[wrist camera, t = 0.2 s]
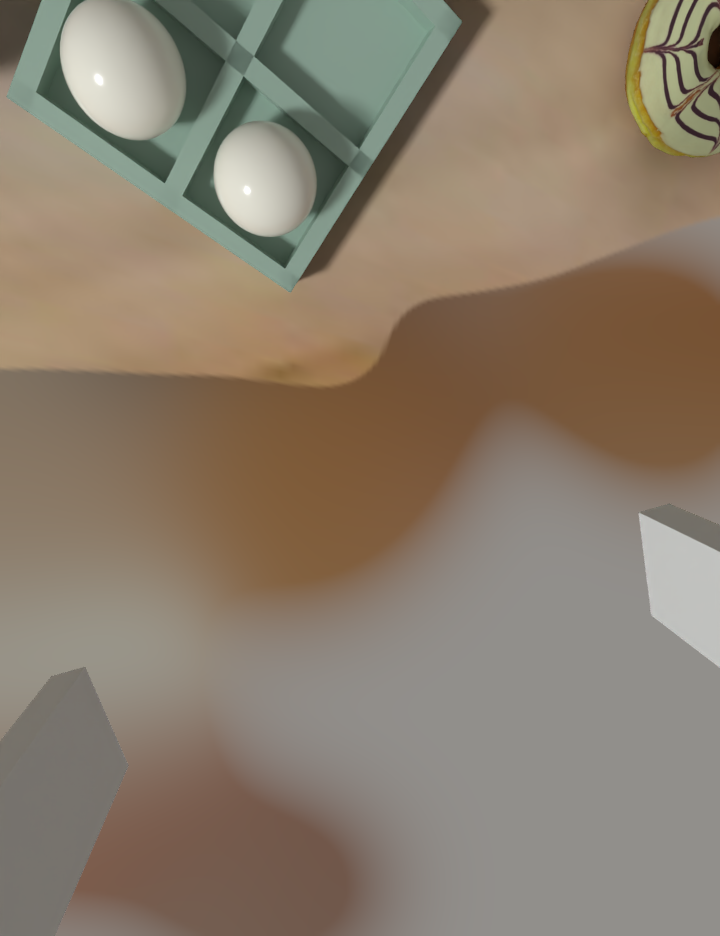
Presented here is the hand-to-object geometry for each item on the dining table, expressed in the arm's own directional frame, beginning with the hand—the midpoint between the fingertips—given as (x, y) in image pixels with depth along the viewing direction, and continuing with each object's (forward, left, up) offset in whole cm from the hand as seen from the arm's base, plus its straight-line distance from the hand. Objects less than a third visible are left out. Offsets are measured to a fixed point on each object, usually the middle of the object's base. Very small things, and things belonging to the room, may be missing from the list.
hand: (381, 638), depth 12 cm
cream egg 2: (-6, -7, -26) cm, 28 cm away
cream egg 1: (-6, -14, -26) cm, 31 cm away
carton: (-10, -10, -27) cm, 31 cm away
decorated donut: (-27, +11, -28) cm, 40 cm away
